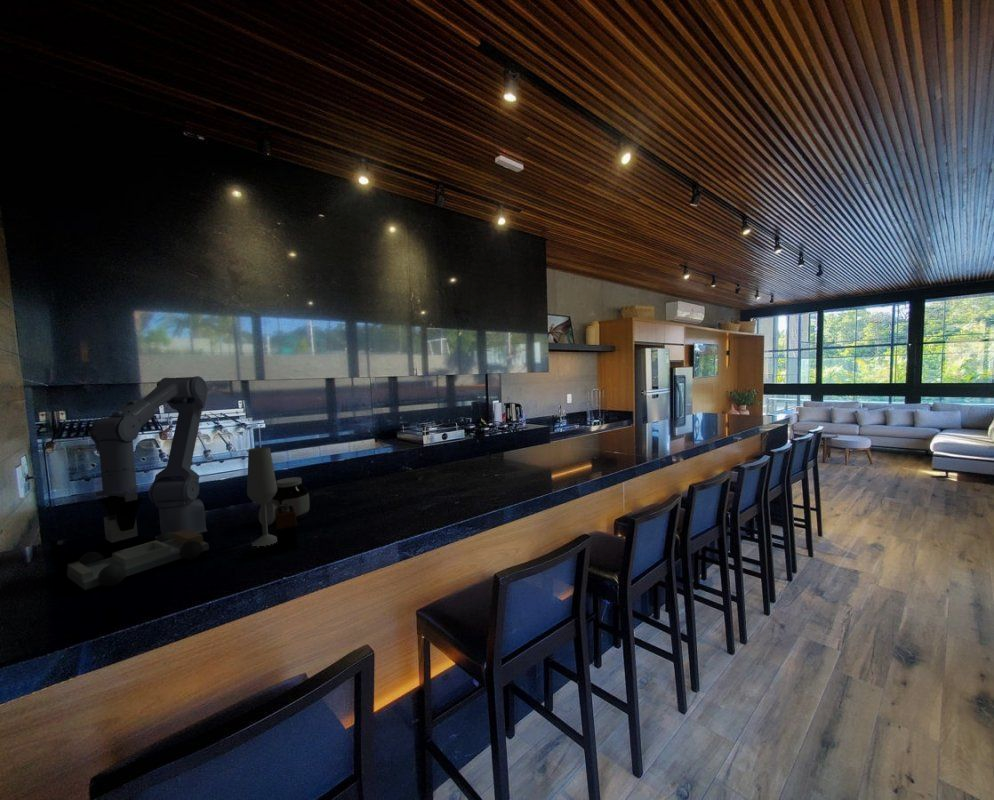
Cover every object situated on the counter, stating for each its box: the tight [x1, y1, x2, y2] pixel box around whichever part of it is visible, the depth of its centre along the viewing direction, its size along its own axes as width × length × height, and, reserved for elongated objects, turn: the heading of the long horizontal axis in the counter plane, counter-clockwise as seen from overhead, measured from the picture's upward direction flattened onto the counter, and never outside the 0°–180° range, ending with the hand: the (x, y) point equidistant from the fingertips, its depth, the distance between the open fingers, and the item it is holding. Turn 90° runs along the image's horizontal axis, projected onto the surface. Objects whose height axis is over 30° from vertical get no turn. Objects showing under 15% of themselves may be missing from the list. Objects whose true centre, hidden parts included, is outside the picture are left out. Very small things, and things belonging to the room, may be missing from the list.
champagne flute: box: [246, 446, 277, 548], centre depth 105 cm, size 7×7×24 cm
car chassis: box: [66, 529, 210, 591], centre depth 94 cm, size 22×15×4 cm
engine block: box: [103, 515, 139, 544], centre depth 94 cm, size 4×4×6 cm
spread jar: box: [258, 476, 311, 526], centre depth 121 cm, size 12×11×12 cm
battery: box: [275, 503, 299, 553], centre depth 102 cm, size 4×7×10 cm, turn 30°
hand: (123, 528), depth 95 cm, fingers closed on engine block, 4 cm apart
